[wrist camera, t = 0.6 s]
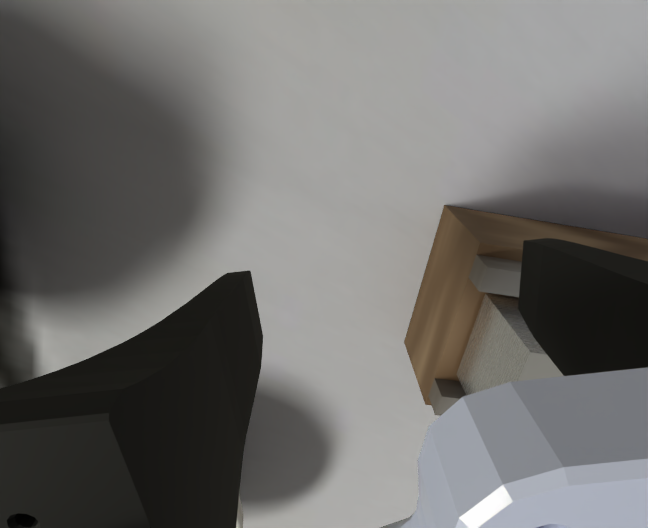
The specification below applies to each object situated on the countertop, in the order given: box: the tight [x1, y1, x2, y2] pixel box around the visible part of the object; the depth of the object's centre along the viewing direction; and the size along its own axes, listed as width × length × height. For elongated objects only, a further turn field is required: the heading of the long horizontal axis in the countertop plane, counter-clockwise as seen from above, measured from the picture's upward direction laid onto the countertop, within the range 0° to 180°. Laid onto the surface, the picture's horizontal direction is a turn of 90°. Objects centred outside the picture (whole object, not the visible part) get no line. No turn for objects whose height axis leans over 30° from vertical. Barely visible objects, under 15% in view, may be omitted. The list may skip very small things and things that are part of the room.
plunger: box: [457, 294, 564, 395], centre depth 17 cm, size 2×4×4 cm, turn 170°
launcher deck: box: [404, 205, 648, 416], centre depth 21 cm, size 14×8×6 cm, turn 80°
